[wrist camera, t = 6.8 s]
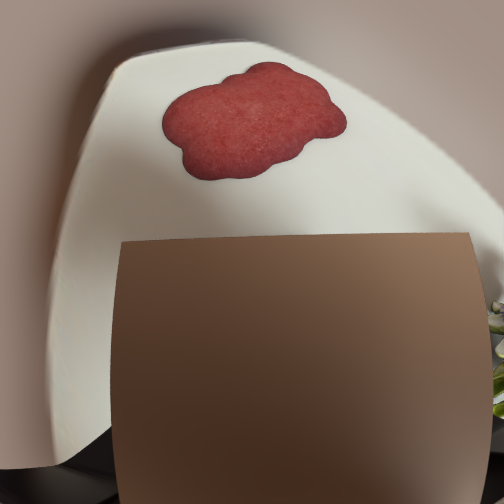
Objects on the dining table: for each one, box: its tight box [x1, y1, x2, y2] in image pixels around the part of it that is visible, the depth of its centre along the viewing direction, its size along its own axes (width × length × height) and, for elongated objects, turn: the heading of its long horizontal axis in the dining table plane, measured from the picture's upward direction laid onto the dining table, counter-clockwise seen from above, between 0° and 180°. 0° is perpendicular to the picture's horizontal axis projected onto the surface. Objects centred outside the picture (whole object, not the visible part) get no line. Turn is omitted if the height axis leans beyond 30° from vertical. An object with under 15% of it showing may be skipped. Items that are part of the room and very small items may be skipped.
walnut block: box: [110, 233, 493, 504], centre depth 9 cm, size 5×5×13 cm
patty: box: [162, 62, 347, 180], centre depth 25 cm, size 18×14×2 cm
